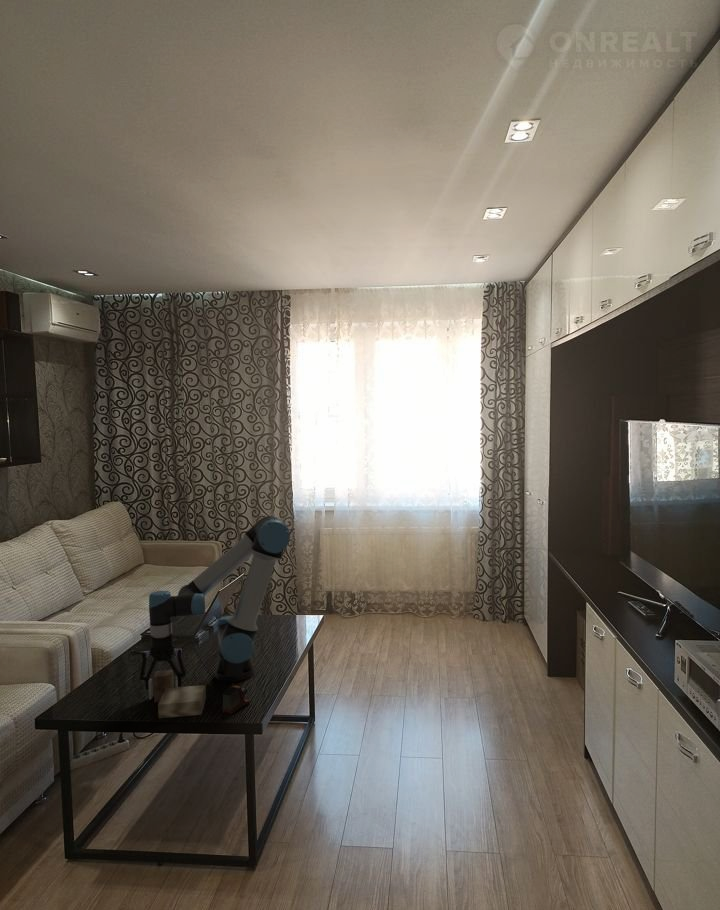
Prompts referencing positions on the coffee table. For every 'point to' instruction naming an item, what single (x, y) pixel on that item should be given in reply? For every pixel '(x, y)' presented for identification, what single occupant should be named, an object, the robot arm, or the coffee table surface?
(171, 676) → the walnut block
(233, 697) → the electronic device
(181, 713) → the oak block
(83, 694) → the coffee table surface
